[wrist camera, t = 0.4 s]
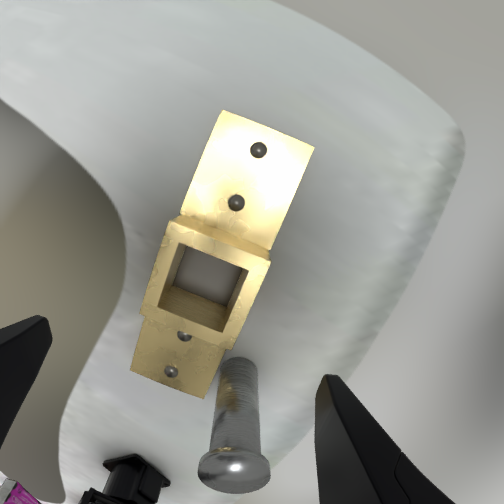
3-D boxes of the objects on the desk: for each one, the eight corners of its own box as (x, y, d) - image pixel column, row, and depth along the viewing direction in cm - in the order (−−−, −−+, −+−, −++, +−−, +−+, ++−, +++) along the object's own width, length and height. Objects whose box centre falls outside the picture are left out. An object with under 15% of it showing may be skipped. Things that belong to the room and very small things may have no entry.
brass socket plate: (204, 393, 26) (198, 426, 22) (132, 365, 26) (116, 394, 21) (312, 148, 22) (326, 141, 17) (223, 112, 21) (217, 95, 17)
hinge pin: (231, 397, 26) (224, 498, 15) (204, 365, 26) (183, 466, 14) (271, 379, 26) (283, 481, 15) (246, 344, 25) (245, 447, 14)
